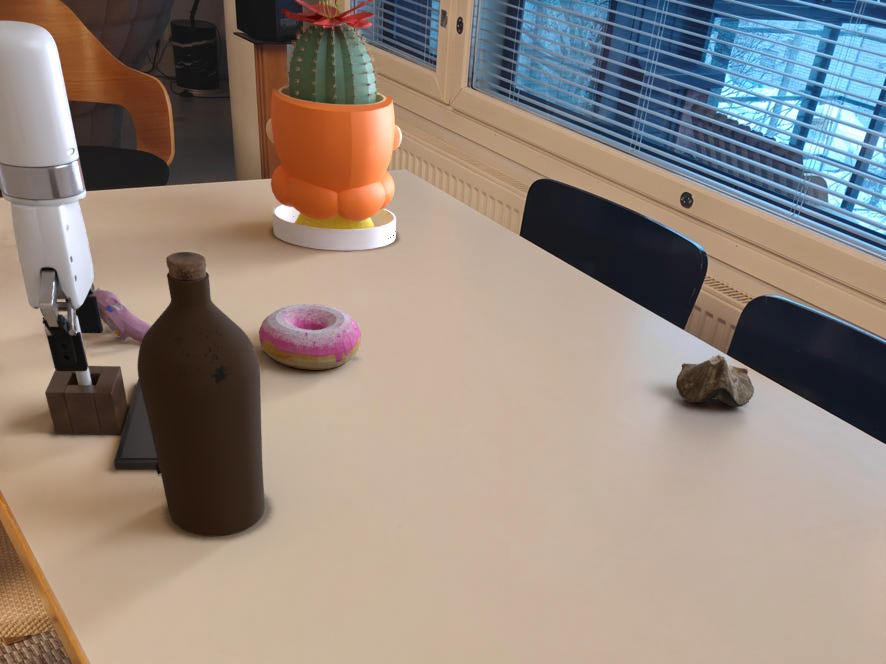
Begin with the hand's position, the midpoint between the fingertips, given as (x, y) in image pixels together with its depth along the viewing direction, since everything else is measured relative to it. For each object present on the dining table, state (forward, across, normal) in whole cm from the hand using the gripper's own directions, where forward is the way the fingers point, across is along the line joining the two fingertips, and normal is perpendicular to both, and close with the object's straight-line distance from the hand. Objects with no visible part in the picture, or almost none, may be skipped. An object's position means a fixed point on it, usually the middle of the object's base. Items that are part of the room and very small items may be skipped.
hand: (80, 350), depth 97 cm
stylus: (+8, 0, 0) cm, 8 cm away
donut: (+9, -19, +25) cm, 32 cm away
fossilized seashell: (+10, -7, +78) cm, 79 cm away
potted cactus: (+9, -67, +30) cm, 74 cm away
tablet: (+8, +1, +9) cm, 12 cm away
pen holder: (+8, 0, 0) cm, 8 cm away
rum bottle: (+9, +19, +15) cm, 25 cm away
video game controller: (+8, -24, 0) cm, 26 cm away
